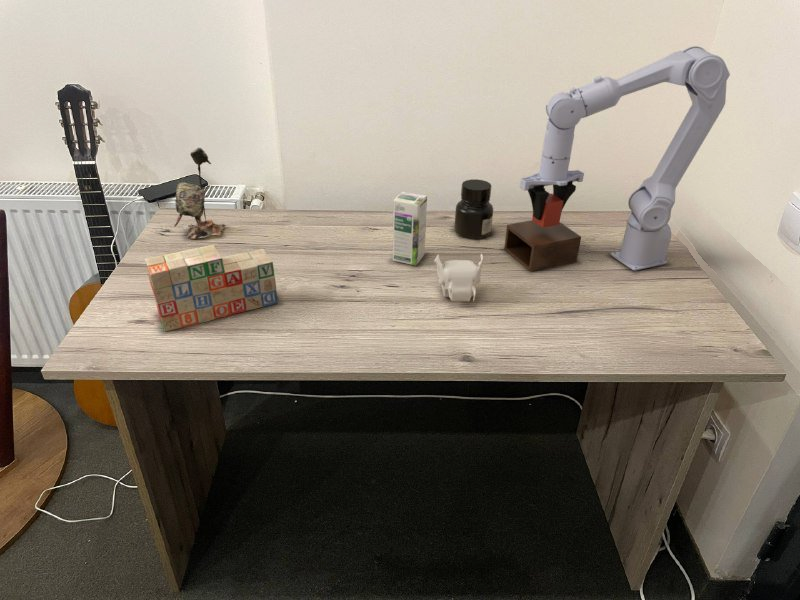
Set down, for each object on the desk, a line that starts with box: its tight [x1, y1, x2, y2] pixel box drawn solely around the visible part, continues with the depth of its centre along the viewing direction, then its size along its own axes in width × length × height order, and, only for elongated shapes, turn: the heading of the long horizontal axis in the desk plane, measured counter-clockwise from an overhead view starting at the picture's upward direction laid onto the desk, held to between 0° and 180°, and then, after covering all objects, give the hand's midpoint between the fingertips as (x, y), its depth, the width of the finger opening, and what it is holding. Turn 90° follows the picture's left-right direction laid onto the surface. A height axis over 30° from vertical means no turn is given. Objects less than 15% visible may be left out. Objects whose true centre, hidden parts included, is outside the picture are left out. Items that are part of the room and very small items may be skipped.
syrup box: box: [392, 191, 428, 266], centre depth 129 cm, size 6×6×14 cm
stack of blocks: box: [144, 244, 279, 332], centre depth 111 cm, size 21×6×12 cm, turn 117°
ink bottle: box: [453, 178, 494, 240], centre depth 142 cm, size 10×9×12 cm
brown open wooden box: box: [503, 220, 582, 272], centre depth 133 cm, size 12×11×6 cm
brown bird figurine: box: [173, 147, 227, 240], centre depth 137 cm, size 8×11×20 cm
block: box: [531, 193, 563, 228], centre depth 129 cm, size 4×4×6 cm
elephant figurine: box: [433, 253, 484, 302], centre depth 118 cm, size 10×12×9 cm
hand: (546, 216), depth 130 cm, fingers closed on block, 4 cm apart
